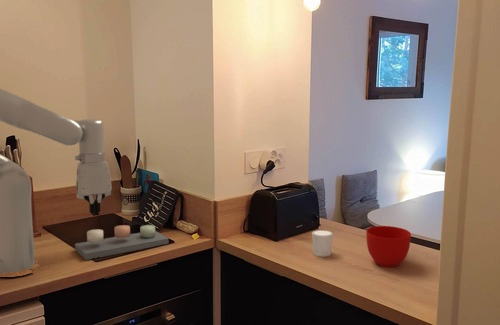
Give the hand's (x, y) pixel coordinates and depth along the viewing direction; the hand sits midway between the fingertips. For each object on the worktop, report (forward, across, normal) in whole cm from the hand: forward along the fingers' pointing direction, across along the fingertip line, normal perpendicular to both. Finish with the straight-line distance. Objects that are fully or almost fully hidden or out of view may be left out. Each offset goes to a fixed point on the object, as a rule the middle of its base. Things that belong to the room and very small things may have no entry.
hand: (95, 214), depth 148 cm
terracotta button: (+9, +9, 0) cm, 12 cm away
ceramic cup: (+13, +72, -60) cm, 94 cm away
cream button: (+9, 0, 0) cm, 9 cm away
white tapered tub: (+13, +60, -43) cm, 75 cm away
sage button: (+10, +18, 0) cm, 20 cm away
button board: (+12, +9, 0) cm, 15 cm away
